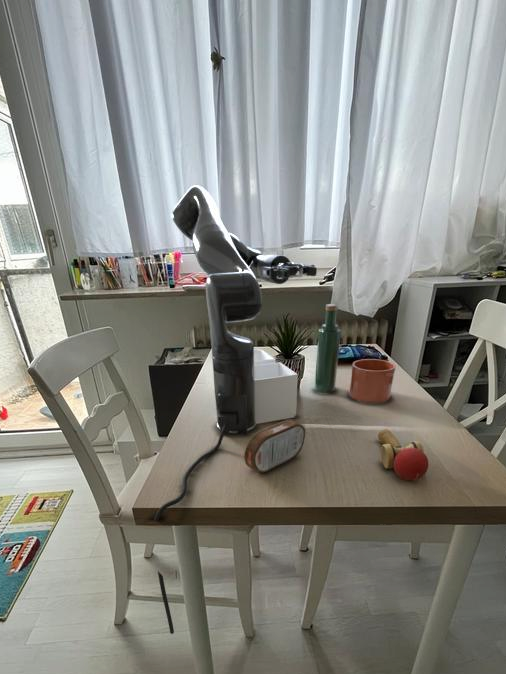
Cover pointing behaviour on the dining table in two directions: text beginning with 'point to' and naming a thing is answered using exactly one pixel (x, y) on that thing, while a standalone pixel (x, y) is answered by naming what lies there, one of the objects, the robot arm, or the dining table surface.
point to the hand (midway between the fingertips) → (301, 272)
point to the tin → (274, 445)
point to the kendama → (403, 457)
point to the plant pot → (371, 380)
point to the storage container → (273, 389)
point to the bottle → (327, 352)
